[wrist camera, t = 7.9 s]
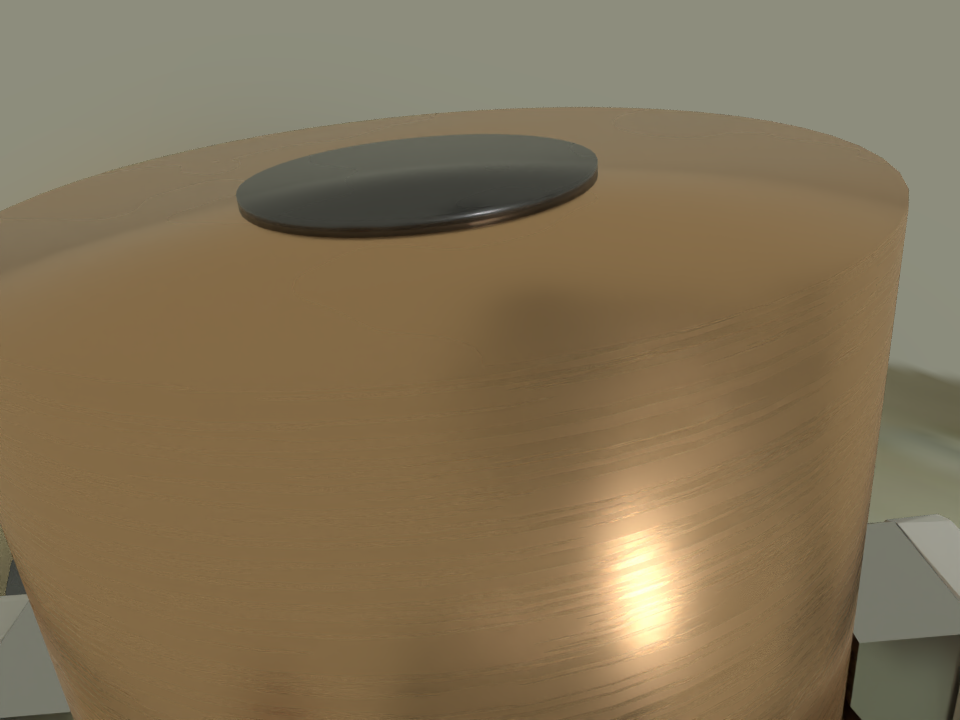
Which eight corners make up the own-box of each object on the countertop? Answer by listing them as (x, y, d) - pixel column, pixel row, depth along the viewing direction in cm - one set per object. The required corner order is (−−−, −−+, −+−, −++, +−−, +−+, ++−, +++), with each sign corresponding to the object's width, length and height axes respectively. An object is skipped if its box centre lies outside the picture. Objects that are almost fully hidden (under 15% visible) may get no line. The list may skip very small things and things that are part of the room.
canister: (700, 791, 13) (729, 77, 9) (891, 1407, 7) (1226, 276, 3) (294, 826, 13) (123, 129, 9) (183, 1470, 7) (-440, 424, 3)
